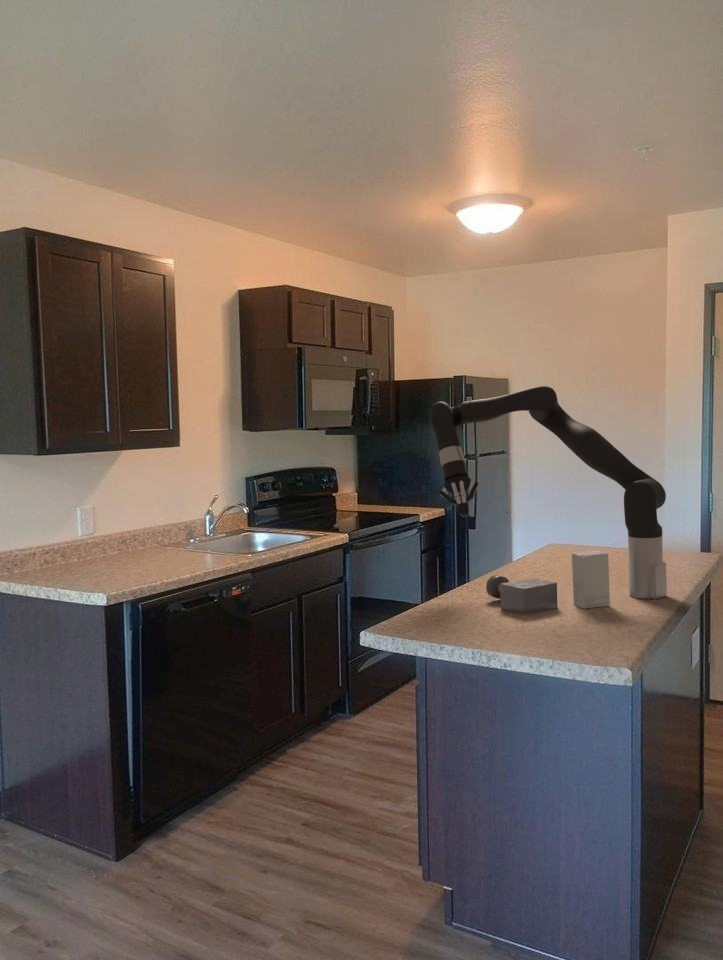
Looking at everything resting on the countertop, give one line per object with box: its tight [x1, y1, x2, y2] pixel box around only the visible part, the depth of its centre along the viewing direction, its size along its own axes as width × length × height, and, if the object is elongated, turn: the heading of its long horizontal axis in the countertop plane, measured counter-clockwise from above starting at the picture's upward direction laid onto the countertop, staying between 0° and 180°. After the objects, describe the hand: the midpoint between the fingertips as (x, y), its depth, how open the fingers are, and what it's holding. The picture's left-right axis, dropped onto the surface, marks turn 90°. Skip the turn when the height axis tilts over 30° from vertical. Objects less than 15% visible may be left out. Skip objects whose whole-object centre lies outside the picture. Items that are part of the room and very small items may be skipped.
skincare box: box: [571, 549, 611, 610], centre depth 214 cm, size 8×6×15 cm
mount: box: [500, 577, 559, 616], centre depth 215 cm, size 10×12×7 cm
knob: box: [485, 574, 510, 600], centre depth 222 cm, size 11×6×6 cm, turn 31°
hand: (464, 515), depth 240 cm, fingers closed
